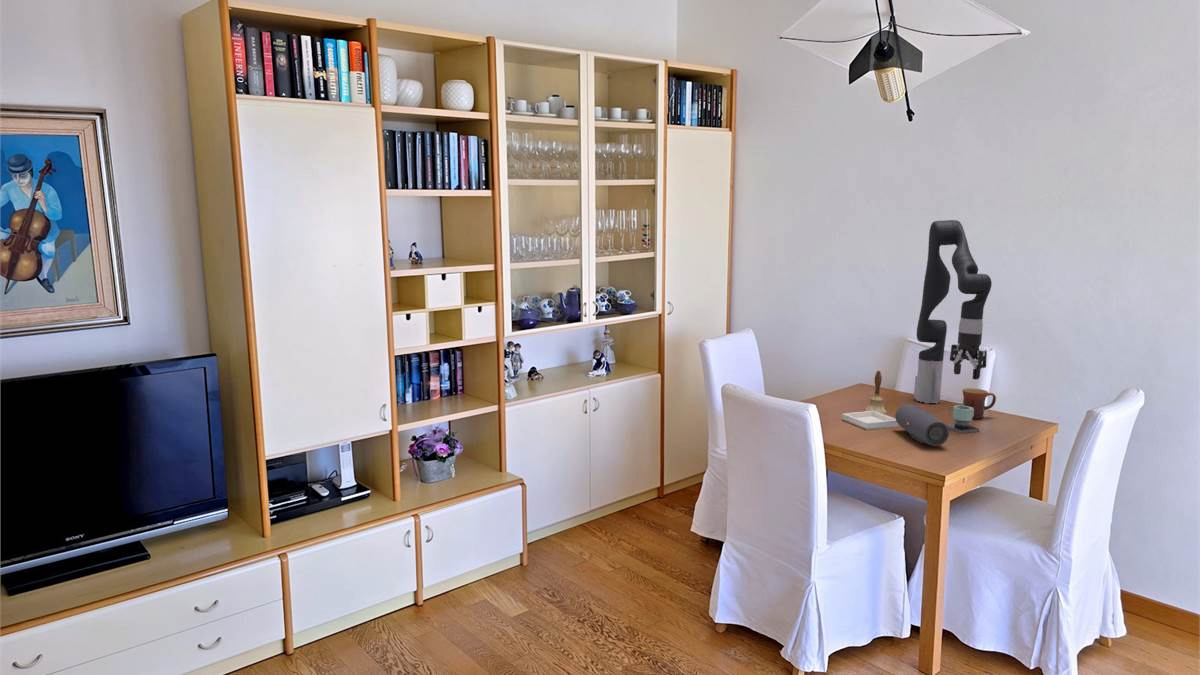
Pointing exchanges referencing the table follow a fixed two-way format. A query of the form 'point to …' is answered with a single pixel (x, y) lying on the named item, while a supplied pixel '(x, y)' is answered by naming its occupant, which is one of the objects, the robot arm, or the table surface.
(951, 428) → the stand
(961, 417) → the ring
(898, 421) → the bluetooth speaker
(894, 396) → the table surface
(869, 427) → the tray
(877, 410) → the hand bell
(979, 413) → the mug
